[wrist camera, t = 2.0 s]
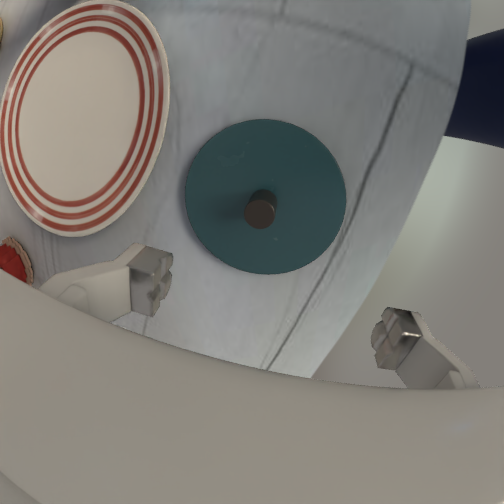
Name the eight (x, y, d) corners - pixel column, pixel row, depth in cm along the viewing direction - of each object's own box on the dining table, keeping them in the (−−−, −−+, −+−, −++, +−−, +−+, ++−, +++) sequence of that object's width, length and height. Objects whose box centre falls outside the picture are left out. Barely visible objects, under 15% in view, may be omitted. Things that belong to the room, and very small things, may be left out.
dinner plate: (93, -23, 14) (77, -30, 12) (242, 98, 21) (234, 94, 18) (-3, 138, 25) (-19, 142, 22) (90, 266, 32) (75, 279, 29)
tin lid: (375, 198, 24) (390, 213, 19) (270, 293, 30) (266, 321, 25) (256, 87, 21) (248, 78, 17) (162, 205, 27) (140, 221, 23)
